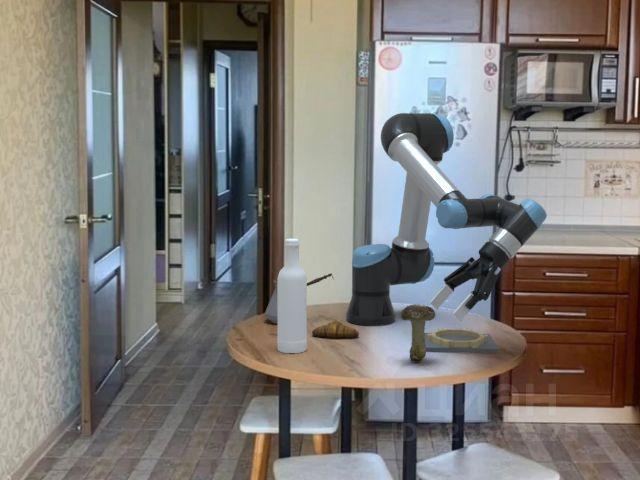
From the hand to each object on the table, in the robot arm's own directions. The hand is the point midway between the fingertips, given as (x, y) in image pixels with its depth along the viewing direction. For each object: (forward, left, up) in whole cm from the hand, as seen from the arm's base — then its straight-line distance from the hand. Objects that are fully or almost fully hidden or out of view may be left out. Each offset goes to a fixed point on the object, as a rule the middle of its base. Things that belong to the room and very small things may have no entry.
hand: (444, 311), depth 199 cm
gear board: (+5, +17, -13) cm, 22 cm away
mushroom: (-7, -1, -13) cm, 15 cm away
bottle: (-40, +8, -13) cm, 43 cm away
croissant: (-29, +23, -13) cm, 39 cm away
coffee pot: (-41, +41, -13) cm, 59 cm away
